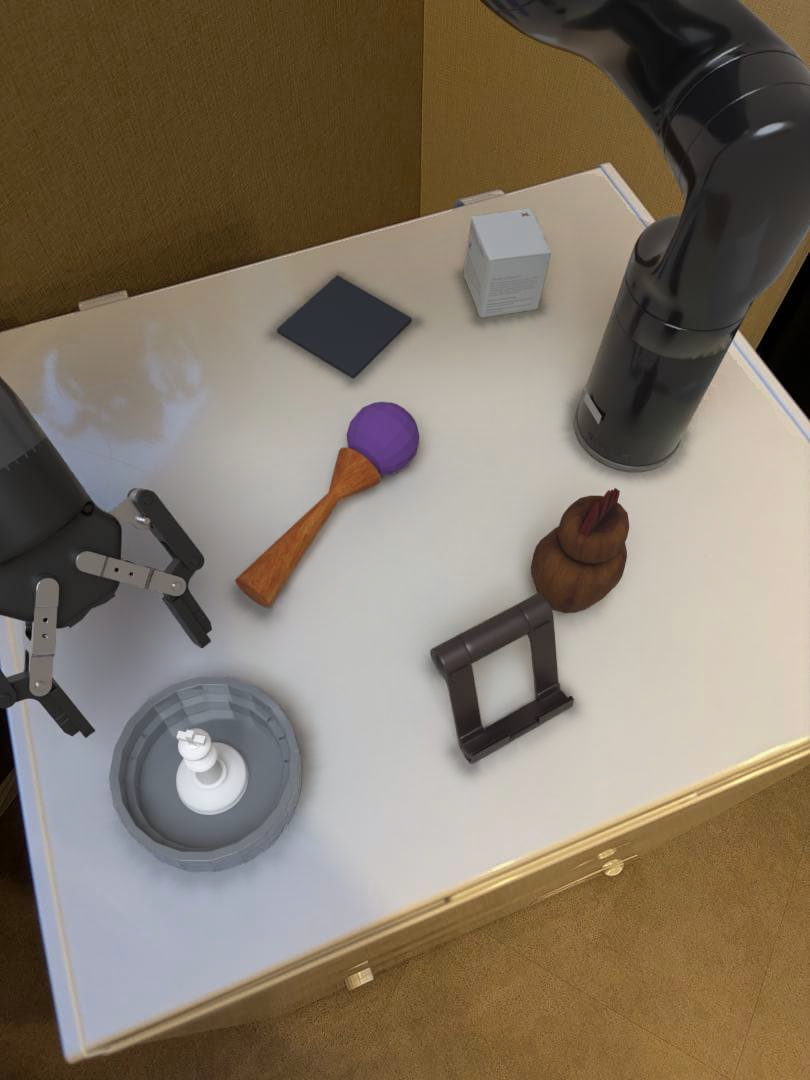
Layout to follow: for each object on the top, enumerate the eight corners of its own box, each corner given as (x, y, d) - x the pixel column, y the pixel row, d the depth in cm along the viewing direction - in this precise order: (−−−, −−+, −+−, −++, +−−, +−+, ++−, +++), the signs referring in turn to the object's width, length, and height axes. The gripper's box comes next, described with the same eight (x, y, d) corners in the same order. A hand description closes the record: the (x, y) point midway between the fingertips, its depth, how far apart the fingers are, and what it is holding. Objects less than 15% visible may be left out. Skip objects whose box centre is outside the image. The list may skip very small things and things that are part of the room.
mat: (337, 278, 87) (337, 274, 86) (411, 321, 84) (412, 317, 84) (277, 332, 83) (276, 328, 82) (353, 379, 80) (353, 375, 80)
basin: (208, 665, 66) (199, 644, 63) (337, 763, 63) (335, 746, 59) (86, 798, 61) (69, 782, 57) (219, 912, 58) (211, 903, 54)
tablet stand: (468, 769, 63) (483, 732, 56) (412, 677, 66) (420, 631, 59) (569, 710, 66) (596, 668, 58) (511, 625, 69) (529, 575, 62)
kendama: (210, 556, 66) (369, 377, 73) (235, 594, 71) (381, 423, 78) (270, 592, 64) (428, 403, 71) (291, 629, 69) (437, 449, 76)
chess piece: (236, 822, 60) (216, 783, 51) (166, 806, 60) (134, 765, 52) (257, 752, 63) (241, 703, 54) (189, 737, 63) (163, 686, 54)
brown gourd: (550, 636, 69) (595, 539, 56) (511, 577, 71) (546, 470, 58) (622, 601, 70) (682, 499, 57) (582, 544, 73) (631, 434, 60)
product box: (461, 274, 88) (469, 214, 81) (520, 266, 89) (533, 205, 82) (478, 319, 85) (489, 260, 78) (539, 310, 86) (554, 251, 79)
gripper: (-141, 549, 43) (59, 784, 49) (108, 396, 48) (261, 626, 55) (-142, 534, 49) (36, 744, 56) (79, 401, 55) (218, 606, 61)
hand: (147, 685), depth 55 cm, fingers open, 8 cm apart
